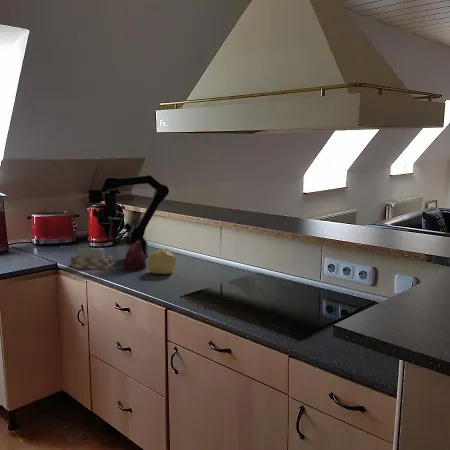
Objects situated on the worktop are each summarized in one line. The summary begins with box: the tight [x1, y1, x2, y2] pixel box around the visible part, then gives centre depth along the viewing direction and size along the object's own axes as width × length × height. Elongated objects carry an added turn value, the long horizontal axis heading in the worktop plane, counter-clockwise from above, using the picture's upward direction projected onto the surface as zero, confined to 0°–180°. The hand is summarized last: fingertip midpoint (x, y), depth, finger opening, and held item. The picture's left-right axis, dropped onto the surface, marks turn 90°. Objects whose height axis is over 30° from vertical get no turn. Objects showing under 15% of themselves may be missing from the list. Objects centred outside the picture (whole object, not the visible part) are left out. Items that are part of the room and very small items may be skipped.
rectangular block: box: [77, 247, 106, 259], centre depth 223 cm, size 12×2×7 cm, turn 79°
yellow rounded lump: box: [147, 248, 177, 275], centre depth 210 cm, size 11×12×11 cm
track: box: [68, 254, 116, 270], centre depth 223 cm, size 18×10×4 cm, turn 79°
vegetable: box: [123, 240, 147, 272], centre depth 218 cm, size 10×10×15 cm
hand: (111, 235), depth 234 cm, fingers open, 9 cm apart
